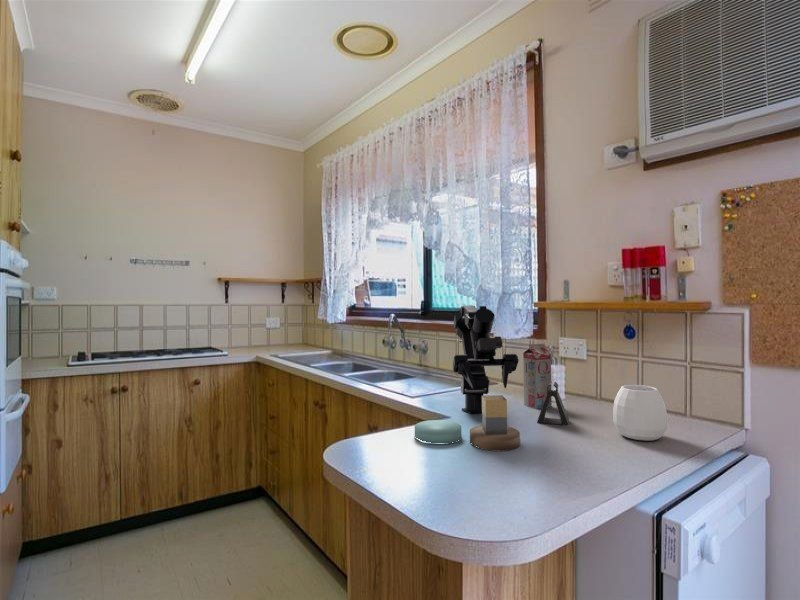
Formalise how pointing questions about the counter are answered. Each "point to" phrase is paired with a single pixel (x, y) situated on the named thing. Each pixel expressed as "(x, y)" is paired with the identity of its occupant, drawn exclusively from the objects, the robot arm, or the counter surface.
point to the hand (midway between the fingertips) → (489, 387)
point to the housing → (494, 414)
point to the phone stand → (561, 409)
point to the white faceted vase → (640, 412)
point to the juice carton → (536, 375)
